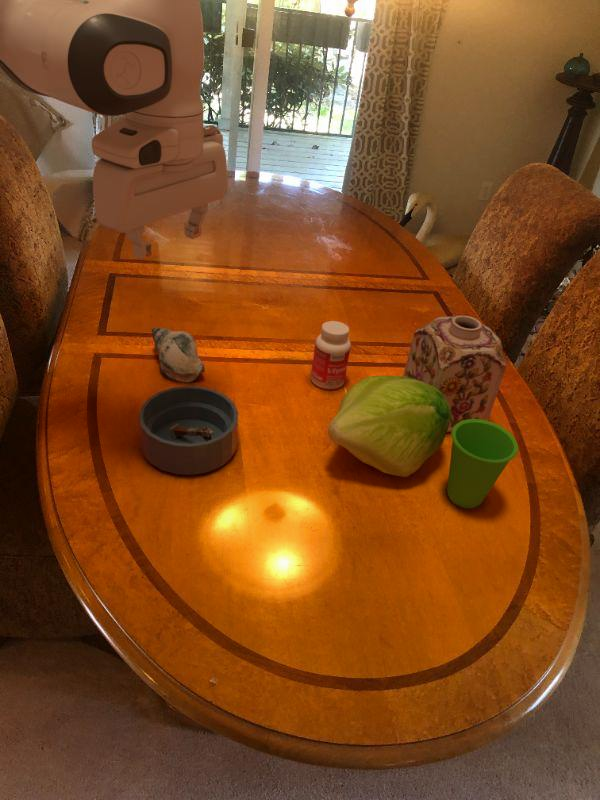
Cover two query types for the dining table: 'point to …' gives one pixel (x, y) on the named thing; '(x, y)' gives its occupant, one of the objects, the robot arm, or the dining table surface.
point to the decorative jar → (459, 364)
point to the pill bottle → (331, 355)
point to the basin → (189, 412)
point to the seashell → (177, 355)
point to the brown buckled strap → (191, 432)
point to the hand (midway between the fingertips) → (168, 246)
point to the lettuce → (391, 423)
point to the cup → (477, 460)
